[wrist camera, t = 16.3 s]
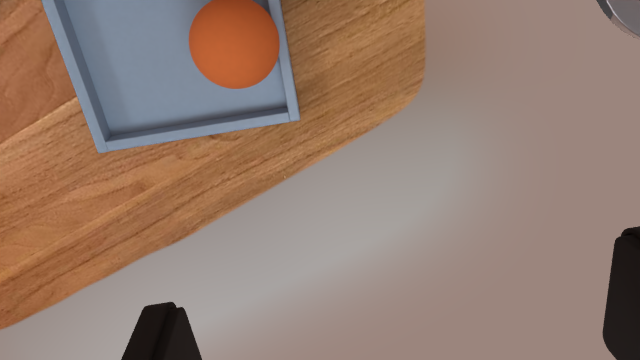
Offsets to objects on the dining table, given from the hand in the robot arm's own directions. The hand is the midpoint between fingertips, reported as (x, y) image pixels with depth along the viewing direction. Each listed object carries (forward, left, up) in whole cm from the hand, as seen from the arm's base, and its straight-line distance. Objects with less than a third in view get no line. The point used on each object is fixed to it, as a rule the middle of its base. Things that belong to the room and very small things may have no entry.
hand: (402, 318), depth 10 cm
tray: (+10, -3, -28) cm, 30 cm away
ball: (+6, -3, -25) cm, 26 cm away
